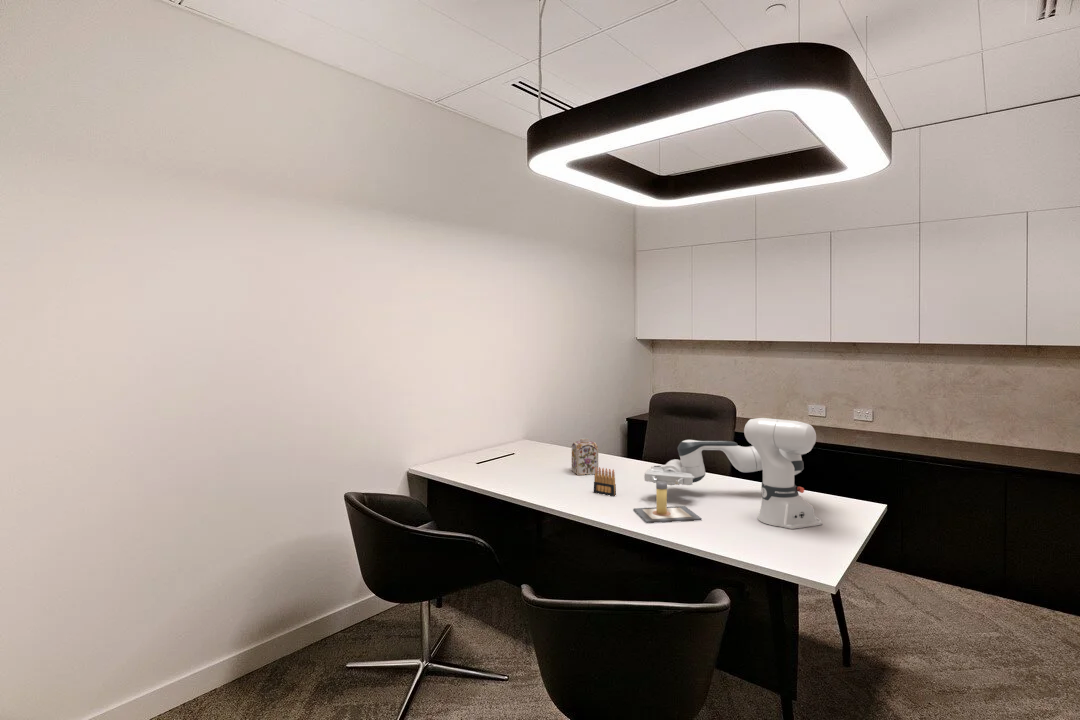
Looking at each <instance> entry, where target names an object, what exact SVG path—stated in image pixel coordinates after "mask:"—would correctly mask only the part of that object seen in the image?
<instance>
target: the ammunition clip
mask: <svg viewBox="0 0 1080 720" xmlns="http://www.w3.org/2000/svg"><path fill="white" fill-rule="evenodd" d="M616 485H617V484H616V474H615V470H614V468H613V469H612V471H611V468H607V467H605V468H604V467H602V468H601V467H600V466H598V470H597V467H596V468H595V475H594V481H593V494H598V493H599V495H603V494H605V495H604V496H608V495H610V496H609V497H616V496H617V486H616ZM615 495H616V496H615Z"/></svg>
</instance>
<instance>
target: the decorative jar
mask: <svg viewBox="0 0 1080 720" xmlns="http://www.w3.org/2000/svg"><path fill="white" fill-rule="evenodd" d="M596 467H597V470H598V471H599V447H598V445H597V443H596V442H595V441H592V440H590V438H587V437H581V438H579V440H578V441H577V440H576V441H573V443H572V445H571V471H572V472H573V473H576V474H577V475H576V474H575V475H576V476H586V475H585V474H595V468H596Z"/></svg>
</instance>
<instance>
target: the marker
mask: <svg viewBox="0 0 1080 720" xmlns="http://www.w3.org/2000/svg"><path fill="white" fill-rule="evenodd" d="M655 487H656V489H655V490H656V491H655V492H656V494H655V495H656V498H655V499H656V500H655V501H656V504H655V505H656V513H657V514H661V515H664V514H667V507H668V504H667V503H668V485H667V483H666V482H656V483H655Z"/></svg>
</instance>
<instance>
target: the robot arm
mask: <svg viewBox="0 0 1080 720" xmlns="http://www.w3.org/2000/svg"><path fill="white" fill-rule="evenodd" d="M743 433H744V437H745V439H746V441H747V442H748V443H749V444H751V445H749V446H743V445H742V446H741V445H738V443H737V442H735V441H732V440H731V441H729V440H696V439H685V440H682V441H680V442H679V444H678V446H677V452H678V456H679V458H680V459H675V458H674V459H670V460H669V461H667V462H666V463H665V464H663V465H652V466H651V467H650V468H649V469H647V470H645V472H644V475H643V476H644V478H643V479H644V481H645V482H649V483H653V484H654V483H655V484H656V482H666V483H667V486H675V485H676V486H680V485H685V486H692V485H693V483H697V482H700V481H701V480H703V478H704V477H705V476H706V468H705V464H704V458H703V451H721V452H723V453H724V454H725V455H726V457H727V459H728V460H729V462H730V463H731V465H732V466H733V467H734V468H735V469H736V470H738V471H739V472H741V473H755V472H758V471H759V472H760V471H762V482H761V491H760V492H761V502H760V503H761V505H760V509H759V513H758V517H757V519H758V521H759V522H761V523H764V524H766V525H770V526H775V527H781V528H785V529H789V530H795V529H801V528H802V529H803V528H808V527H815V526H822V525H823V522H822V519H820V518H819V517H817V516H816V513H815V508H814V506H813V505H812V504H811V503H809V502H808V501H807V500H806V499H804V498H803V496H801V495H800V494H799V493H801V494H803V493H805V488H804V487H802V486H797V485H796V484H795V476H797V475H799V474H800V473H802V471H803V470H804V469H805V467H804V466H805V465H804V460H803V458H802V456H803V455H806V454H807V453H809V452H811V451H812V449H813V448H814V446H815V444H816V441H817V434H816V430H815V428H814V427H813V426H812V425H811V424H809V423H806V422H803V421H797V420H789V419H780V418H779V419H778V418H769V417H767V418H766V417H758V418H750V419H749V420H748V421H747V422H746V423H745V426H744V429H743Z"/></svg>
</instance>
